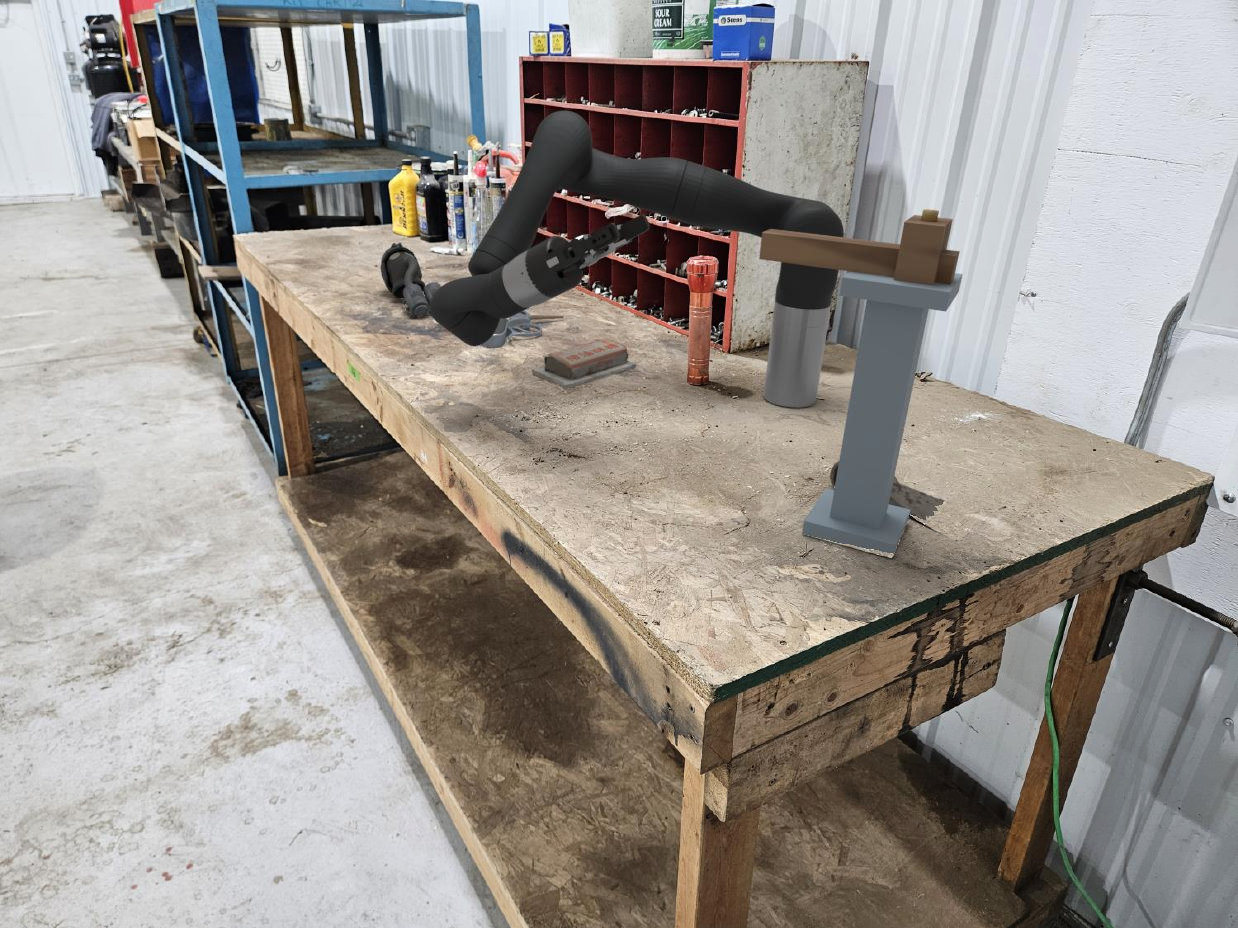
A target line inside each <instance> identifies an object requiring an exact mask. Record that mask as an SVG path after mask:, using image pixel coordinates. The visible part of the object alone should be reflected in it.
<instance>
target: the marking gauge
mask: <svg viewBox="0 0 1238 928" xmlns="http://www.w3.org/2000/svg"><path fill="white" fill-rule="evenodd" d="M939 214H940V211H939V210H936V209H922V213H921V215H918V214H914V215H912V216H911V217H909V218H908V219H906V220H905V221H904V222H903V227H902V232H901V238H900V243H893V242H886V241H885V242H884V241H876V240H875V241H874V240H867V239H859V238H850V237H844V238H843V237H835V236H826V235H818V234H809V233H801V232H792V231H784V230H775V229H769V230H767V231H765V232H762V238H761V237H760V239H761V241H760V247H759V257H758V258H759V260H764V261H771V262H779V263H781V262H784V263H792V264H799V265H807V266H814V267H821V268H829V269H836V270H839V271H844V272H850V271H851V272H859V273H866V274H873V275H881V276H888V277H894V280H896V281H903V282H910V283H918V284H925V285H932V286H933V285H934V283H940V284H947V285H950V284H951V282H952V281H953V280H954V276H955V273H956V270H957V265H958V261H959V256H960V253H961V252H960V250H953V249H952V250H951V249H948V244H949V239H950V235H951V231H952V230H951V229H952V225H953V220H954V219H953V218H949V217H948V218H947V217H939Z"/></svg>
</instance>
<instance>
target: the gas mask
mask: <svg viewBox="0 0 1238 928" xmlns="http://www.w3.org/2000/svg"><path fill="white" fill-rule="evenodd" d="M380 272H381V273H380V274H381V278H382V281H383V282H384V285H385V287H386V289H387V290H388V291H389V292H390V293H391V295H393V297H394V298H396V299H399V300H402V304H403V305H406V306H407V307H405V311H406V312H409V313H410V314H409V315H408V318H409V319H417V317H418V318H419V317H422V318H427V317H429V316H430V317H432V315H431V313H430V301H431V299H432V296H433V295H434V293H435V292H436V291H437V290H438V289H439V288H440V287H441V284H440V283H438V282H437V281H436V282H435V281H431V282H428V283H427V284H426V283H425V282H424V281H423V280H422V279H423V278H422V277H423V273H422V270H421V266H420V264H419V262H418V259H417V257H416V255H415V254H414V252H413V251H412V250H411V249H409V248H407V247H405V246H403V244H402V243H401V242H398V243H396V242H393V243H392V244H391V246H390V247H389V248H387V249H386V250H385V251H384V253H383V254H382V257H381V261H380ZM401 298H405V299H401Z"/></svg>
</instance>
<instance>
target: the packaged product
mask: <svg viewBox="0 0 1238 928" xmlns="http://www.w3.org/2000/svg"><path fill="white" fill-rule="evenodd" d="M628 359H629V352H628V347H627V346H625V344H624V343H621V342H617V341H616V340H612V339H608V338H605V339H601V340H596V341H593V342H592V341H591V342H589V343H585V344H581V345H577V346H574V347H570V348H566V349H563V350H558V351H555V352H550V353H548V354H546V355H545V356H544V358H543V362H544V365H540V366H539V365H538V366H537V367H532V368H531V372H532V375H533V376H535V377H538V378H540V379H542V380H545V381H547V382H550V383H551V384H555V385H558V386H559V387H562V388H565V389H571V388H575V387H578V386H579V385H582V384H588V383H590V382H593V381H597V380H600V379H603V378H608V377H610V376H613V375H616V374H619V373H621V372H624V371H628V370H633V369H635V368H636V367H637V363H634V362H632V361H629V360H628Z"/></svg>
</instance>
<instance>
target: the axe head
mask: <svg viewBox="0 0 1238 928" xmlns="http://www.w3.org/2000/svg"><path fill="white" fill-rule="evenodd" d="M838 465H839V460H838V461H837V462H835V463H834V464H833V465H832V467H831V469H830V470H831V471H830V474H829V479H830V483H831V485H833V486H835V483H836V477H837V471H838ZM833 486H832V487H833ZM944 501H945V500H944V499H942V498H939V497H938V498H937V497H935V496H933V495H931V494H930V495H929V494H927V493H926V492H922V491H920V490H917V489H916V488H911V487H910V486H907V485H905V484H902V483H900V482H899V480H898V478H897V477H896V475H895V476H894V480H893V485H892V490H891V495H890V500H889V504H890V505H894V506H898V507H902V508H906V509H910V510H911V511H910V514H911V515H913V516H917V517H918V518H920V519H923V520H926V516H927V517H929V516H934V512H933V511H938V510H937V508H936V507H935V506H939V505H942V504H943V502H944Z"/></svg>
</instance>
